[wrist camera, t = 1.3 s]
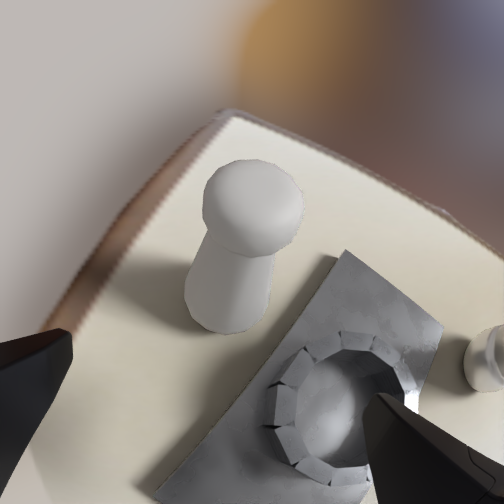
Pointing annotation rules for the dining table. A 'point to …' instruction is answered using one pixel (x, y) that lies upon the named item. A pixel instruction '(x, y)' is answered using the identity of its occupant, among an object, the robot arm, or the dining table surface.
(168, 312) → the dining table surface
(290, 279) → the dining table surface
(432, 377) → the dining table surface
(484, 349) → the plastic bottle
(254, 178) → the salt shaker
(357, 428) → the plate with ring
